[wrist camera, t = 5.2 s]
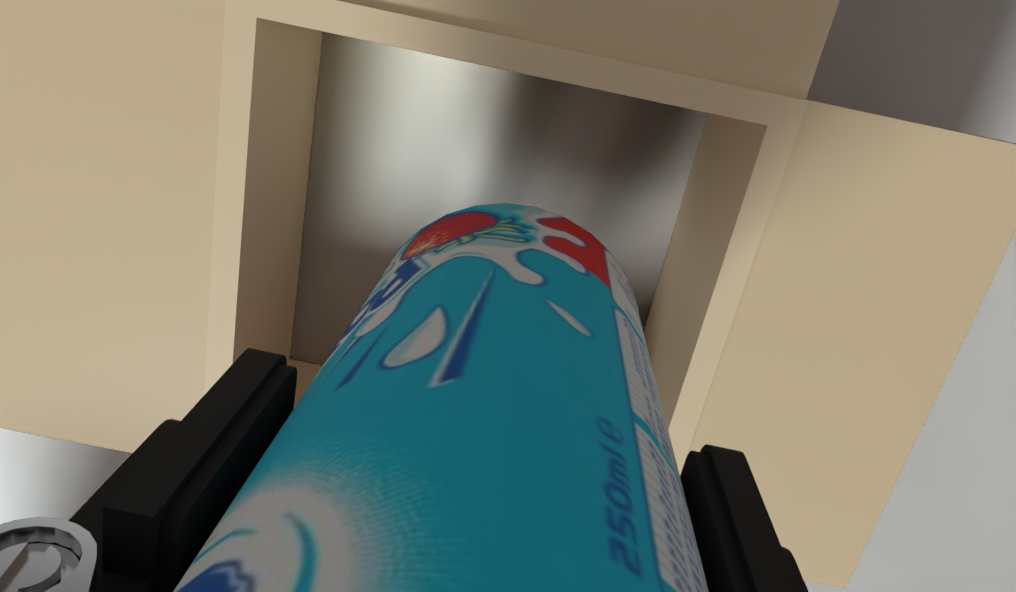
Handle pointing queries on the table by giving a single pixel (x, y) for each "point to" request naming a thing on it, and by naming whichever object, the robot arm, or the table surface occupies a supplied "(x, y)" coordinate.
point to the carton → (537, 52)
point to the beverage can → (472, 434)
